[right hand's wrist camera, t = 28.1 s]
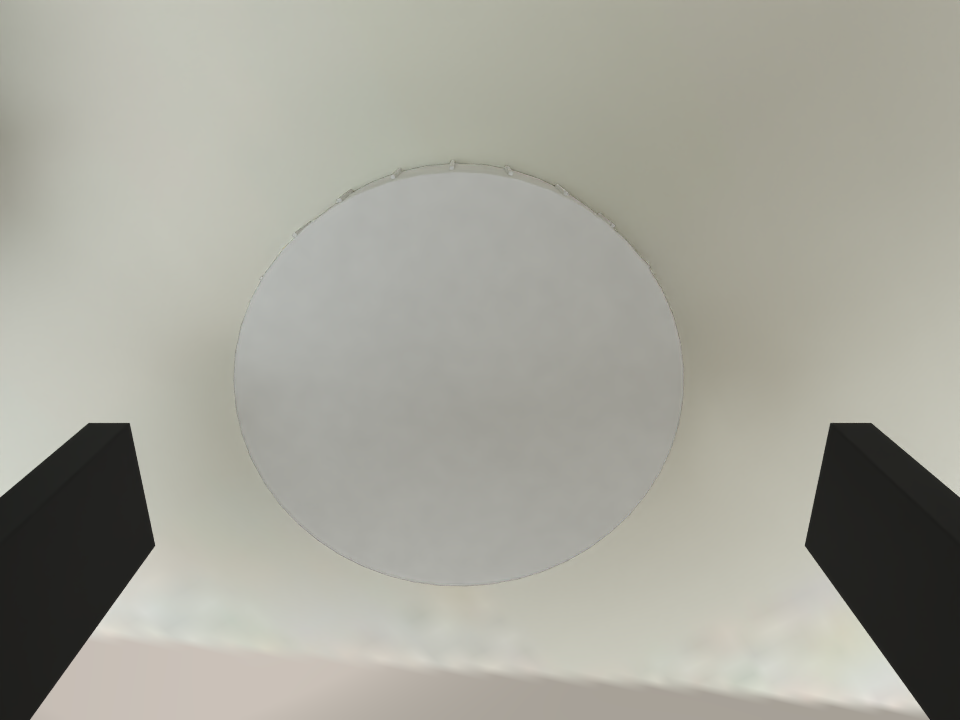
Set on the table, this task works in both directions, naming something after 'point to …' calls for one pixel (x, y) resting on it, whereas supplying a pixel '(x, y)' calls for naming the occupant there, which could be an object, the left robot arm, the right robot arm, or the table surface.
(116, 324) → the table surface
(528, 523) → the lid
